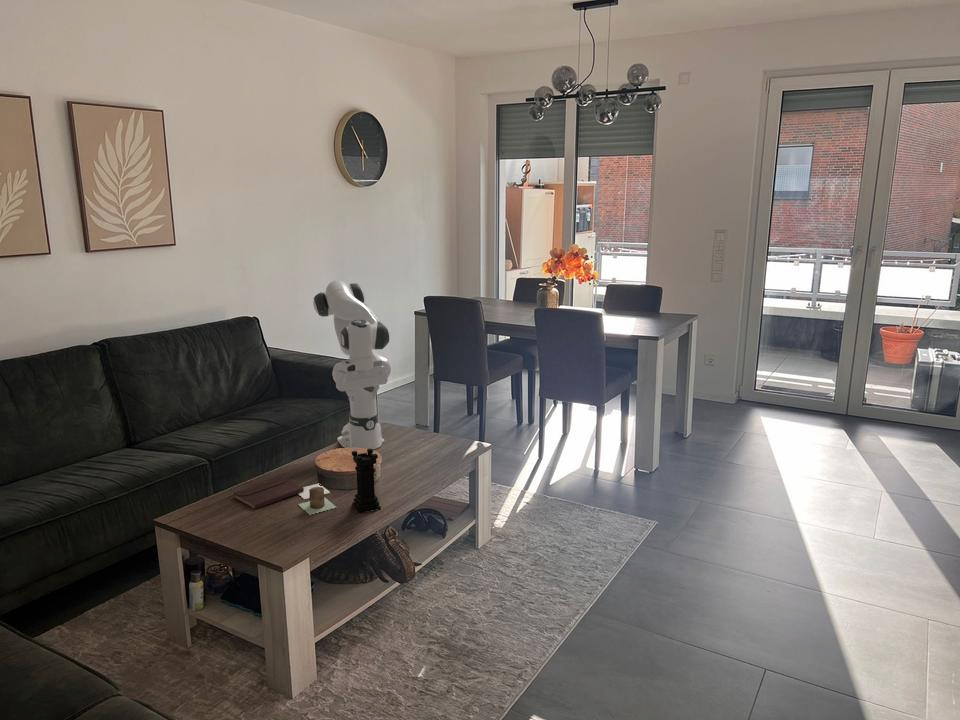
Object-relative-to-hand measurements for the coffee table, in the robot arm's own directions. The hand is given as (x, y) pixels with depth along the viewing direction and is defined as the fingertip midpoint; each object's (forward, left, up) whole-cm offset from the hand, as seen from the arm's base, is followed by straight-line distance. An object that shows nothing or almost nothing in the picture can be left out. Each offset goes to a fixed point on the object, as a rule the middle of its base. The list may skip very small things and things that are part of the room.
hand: (362, 398), depth 268 cm
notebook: (-4, -37, -31) cm, 49 cm away
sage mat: (+16, -27, -31) cm, 44 cm away
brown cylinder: (+16, -27, -31) cm, 44 cm away
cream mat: (+3, -23, -31) cm, 39 cm away
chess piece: (+26, -13, -31) cm, 43 cm away
